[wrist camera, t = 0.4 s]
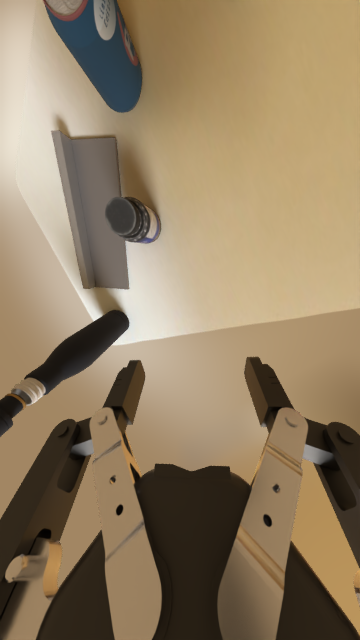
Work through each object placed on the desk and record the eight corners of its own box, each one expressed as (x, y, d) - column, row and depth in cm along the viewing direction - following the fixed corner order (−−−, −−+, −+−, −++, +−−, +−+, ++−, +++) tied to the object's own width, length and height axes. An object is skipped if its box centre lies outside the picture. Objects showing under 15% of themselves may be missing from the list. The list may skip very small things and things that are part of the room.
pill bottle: (129, 237, 34) (96, 231, 24) (136, 203, 31) (102, 182, 21) (157, 248, 34) (135, 247, 24) (165, 215, 31) (145, 199, 21)
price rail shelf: (64, 142, 29) (50, 131, 26) (116, 139, 28) (106, 127, 25) (91, 285, 40) (82, 288, 37) (129, 288, 38) (123, 291, 36)
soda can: (153, 79, 24) (109, -59, 13) (129, 130, 27) (76, 49, 16) (117, 36, 23) (37, -151, 12) (95, 93, 26) (14, -19, 15)
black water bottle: (108, 306, 41) (-87, 415, 14) (131, 315, 41) (-19, 442, 14) (105, 327, 44) (-63, 451, 17) (126, 335, 44) (-6, 474, 17)
